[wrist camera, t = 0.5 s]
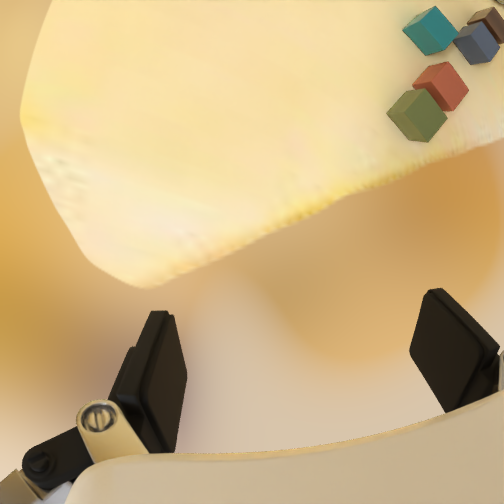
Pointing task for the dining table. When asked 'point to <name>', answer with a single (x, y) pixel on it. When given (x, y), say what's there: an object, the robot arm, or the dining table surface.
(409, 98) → the olive cube
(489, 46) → the slate cube
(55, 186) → the dining table surface
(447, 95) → the terracotta cube
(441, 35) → the teal cube
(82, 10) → the dining table surface
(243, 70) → the dining table surface
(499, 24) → the walnut cube
